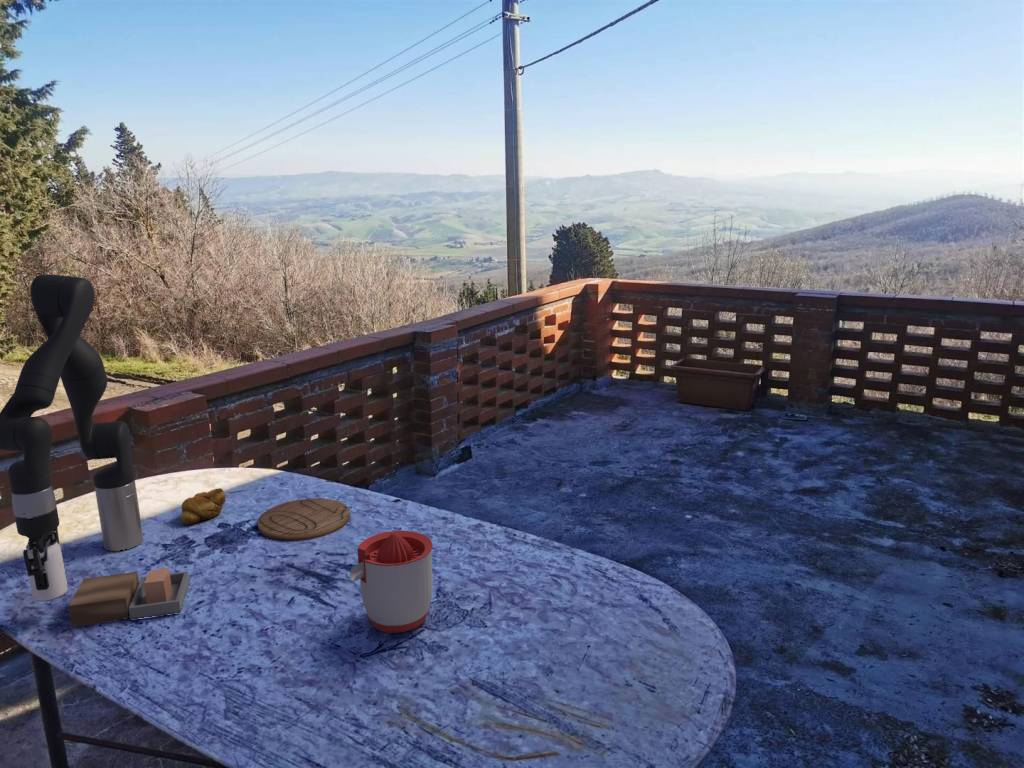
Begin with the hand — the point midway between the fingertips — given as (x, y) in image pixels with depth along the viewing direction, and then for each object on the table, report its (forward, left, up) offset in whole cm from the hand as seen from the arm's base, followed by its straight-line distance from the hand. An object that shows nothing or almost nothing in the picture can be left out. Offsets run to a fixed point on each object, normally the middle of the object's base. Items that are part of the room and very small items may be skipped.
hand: (48, 580), depth 157 cm
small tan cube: (0, +19, -5) cm, 20 cm away
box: (0, +21, -8) cm, 23 cm away
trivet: (-35, +53, -9) cm, 64 cm away
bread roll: (-46, +24, -9) cm, 53 cm away
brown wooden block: (0, +10, -8) cm, 13 cm away
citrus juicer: (+23, +71, -9) cm, 75 cm away
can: (0, 0, -3) cm, 3 cm away
